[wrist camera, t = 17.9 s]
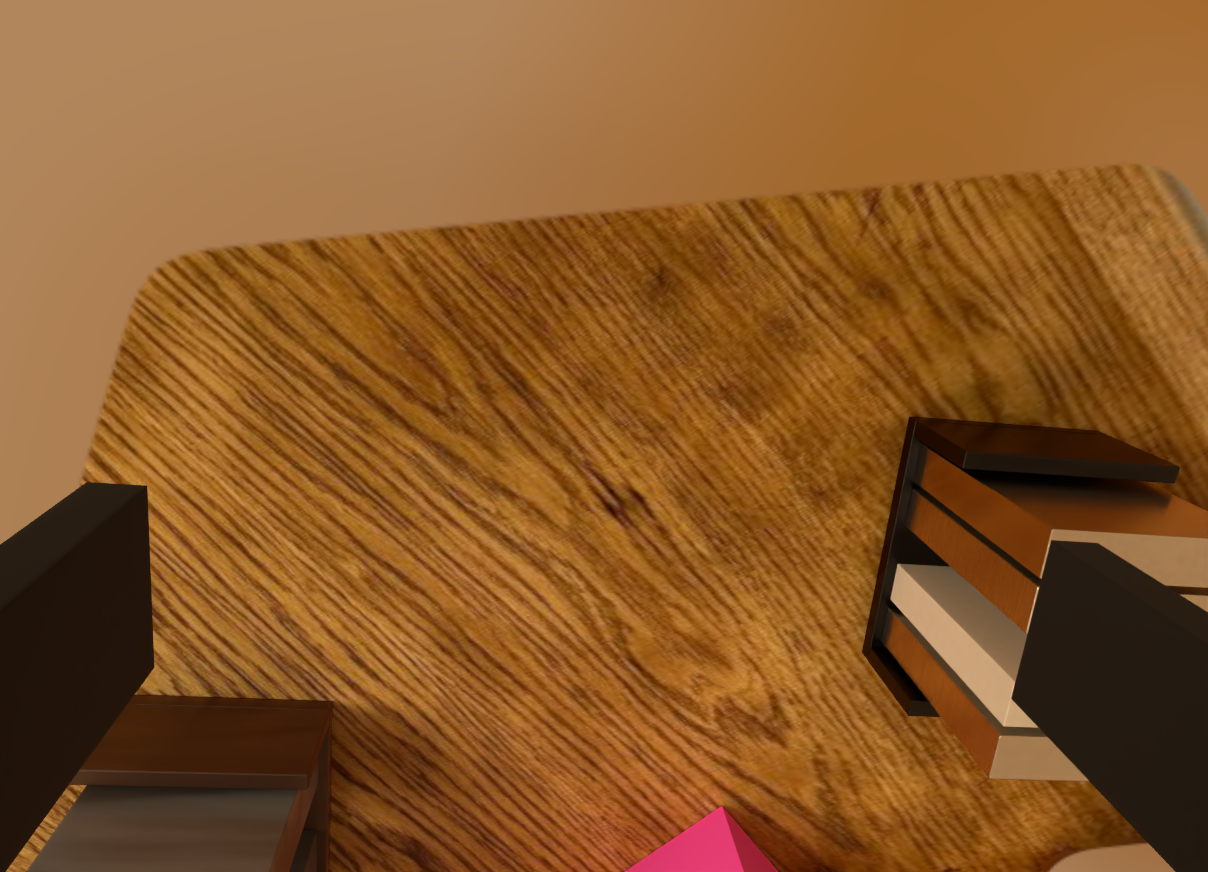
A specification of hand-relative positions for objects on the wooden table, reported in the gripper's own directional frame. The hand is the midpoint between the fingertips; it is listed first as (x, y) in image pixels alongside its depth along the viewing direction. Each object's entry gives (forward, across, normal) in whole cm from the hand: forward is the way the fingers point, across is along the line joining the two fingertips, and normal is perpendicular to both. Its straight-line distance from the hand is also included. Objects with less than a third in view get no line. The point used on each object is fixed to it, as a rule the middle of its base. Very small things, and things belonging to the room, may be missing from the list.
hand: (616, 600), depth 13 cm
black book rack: (+29, +23, -10) cm, 38 cm away
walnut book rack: (+29, -14, -26) cm, 41 cm away
